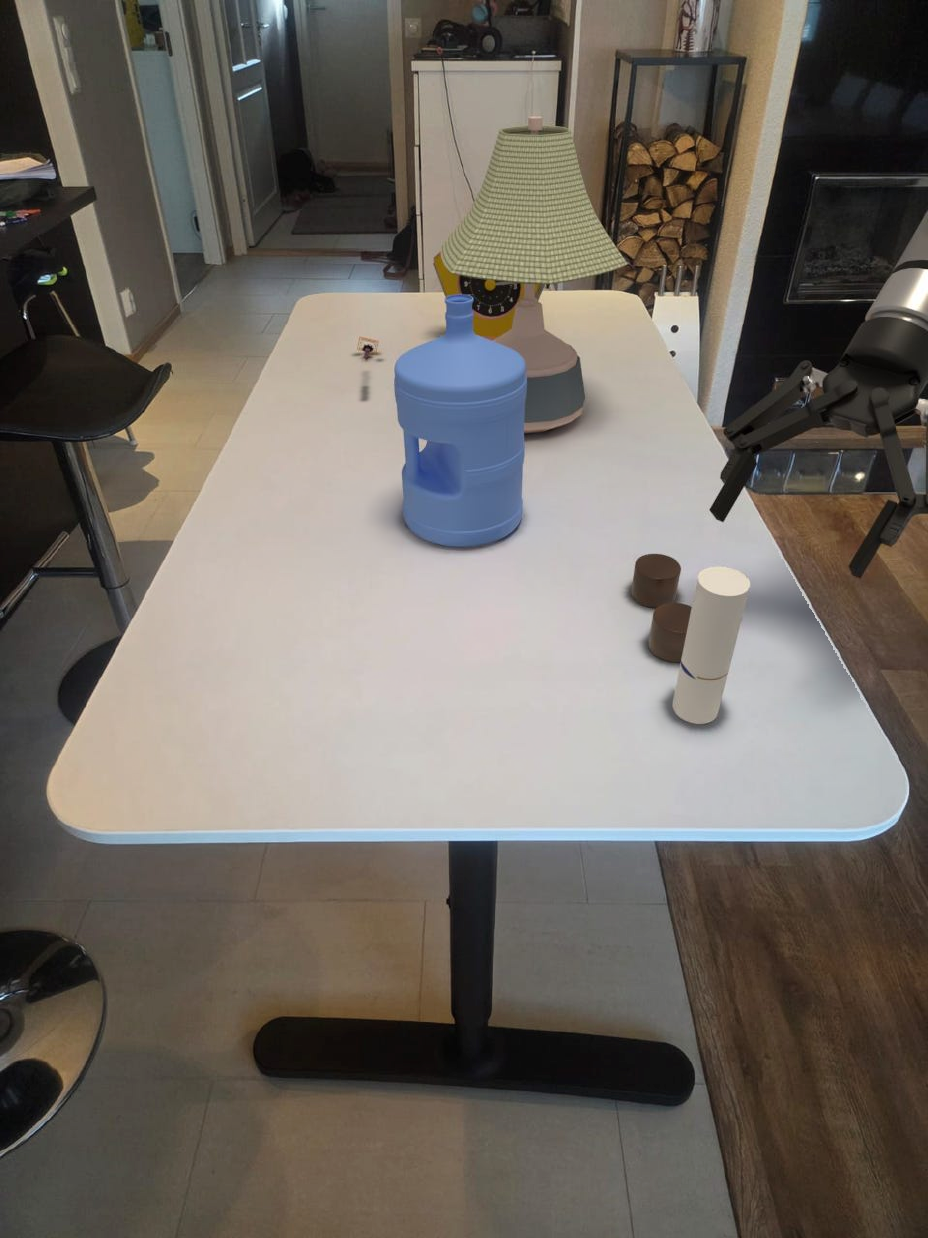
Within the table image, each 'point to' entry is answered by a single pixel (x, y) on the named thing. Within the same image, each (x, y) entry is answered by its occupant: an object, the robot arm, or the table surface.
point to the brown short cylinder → (655, 580)
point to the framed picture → (367, 347)
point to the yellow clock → (485, 299)
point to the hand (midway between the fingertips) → (781, 543)
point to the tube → (710, 643)
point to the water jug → (462, 433)
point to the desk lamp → (535, 254)
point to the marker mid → (669, 631)
